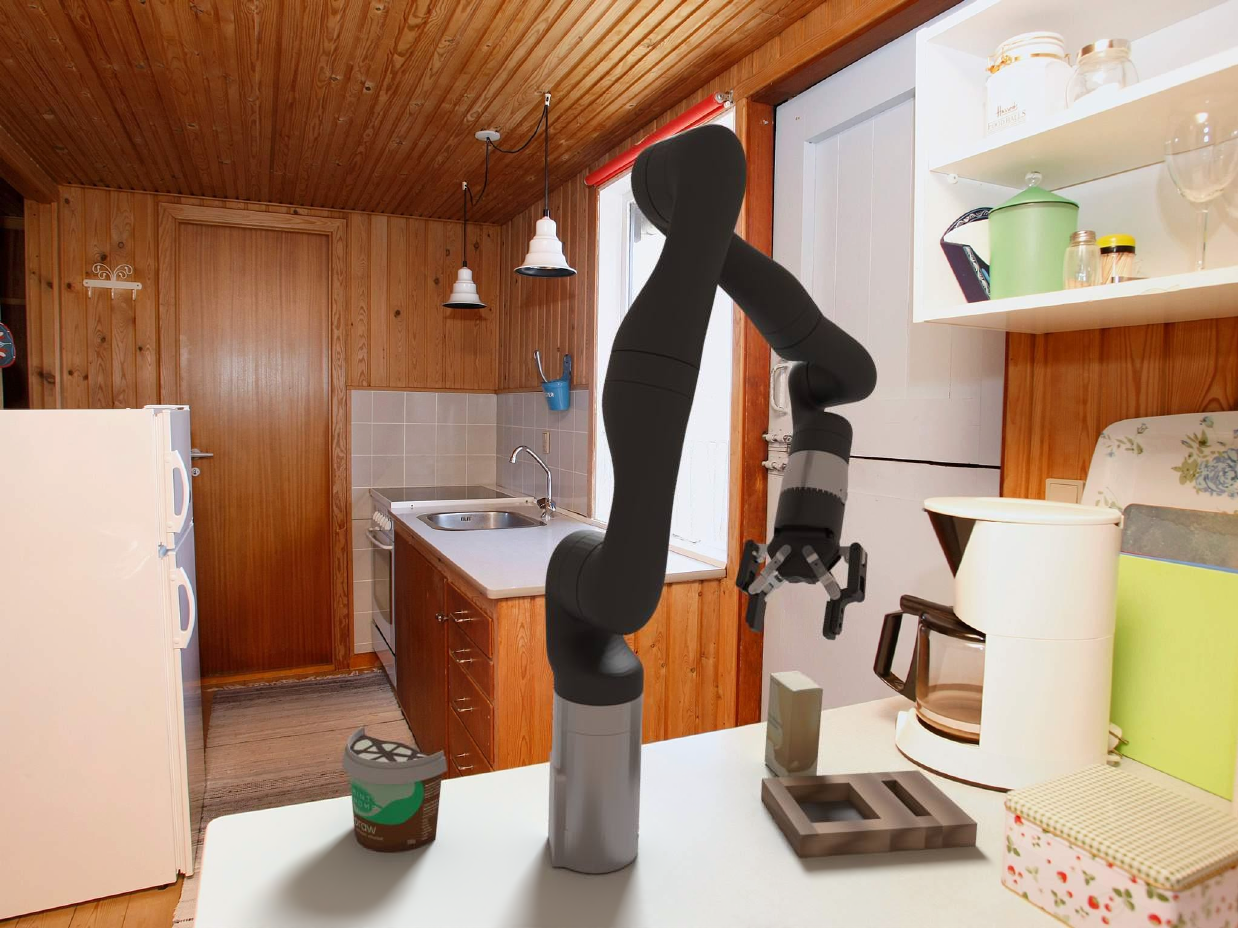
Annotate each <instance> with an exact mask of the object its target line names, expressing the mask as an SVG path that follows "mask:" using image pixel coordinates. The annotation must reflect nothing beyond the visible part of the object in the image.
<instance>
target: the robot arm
mask: <svg viewBox="0 0 1238 928" xmlns="http://www.w3.org/2000/svg"><path fill="white" fill-rule="evenodd" d="M747 182H748V165H747V157H746V153H745V150H744V147H743V144H742V142H741V140H740V139H739V137H738V135H737V134H736V133H735V131H733V130H732V129H731V128H730V127H727V126H725V125H722V124H718V123H709V124H707V123H706V124H701V125H698V126H693V127H691V128H689V129H686V130H683V131H680V132H678V133H675V134H673V135H671V136H667V137H665V138H663V139H660V140H658V141H655V142H654V143H652V144H649V146H646V147H645V148H644V149H642V150H641V152H639V154H638V155H637V156H636V158H635V160H634V162H633V165H632V168H631V174H630V187H631V192H632V196H633V199H634V201H635V204H636V206H637V207H638V209H639V210H640V212H641V213H642V215H643V216H644V217H645V218H646V219H647V220H648V221H649V222H650V224H651V225H653V226H654V227H655V228H656V229H657V230H658V231H659V232H660V233H661V234H662V235H663V236H664V237H665V239H664V243H663V246H662V249H661V252H660V255H659V257H658V259H657V262H656V264H655V266H654V268H653V270H652V271H651V274H650V275H649V277H648V279H646V282H645V283H644V285H643V287H642V288H641V289H640V290H639V293H638V294H637V295H636V298H635V299H634V300H633V302H632V304H631V305H630V307H629V309H628V310H627V312H626V314H625V315H624V317H623V319H622V321H621V323H620V325H619V327H618V328H617V332H616V333H615V337H614V340H613V342H612V345H611V349H610V355H609V358H608V364H607V368H606V373H605V378H604V383H603V388H602V395H601V411H602V412H601V413H602V420H603V426H604V431H605V437H606V441H607V445H608V449H609V454H610V457H611V464H612V471H613V492H612V493H613V494H612V501H611V506H610V512H609V517H608V521H607V522H608V523H607V527H606V530H605V532H603V531H598V530H593V529H580V530H577V531H574V532H571V533H569V534H567V535H566V536H564V537H563V538H562V539H561V540H560V541H559V542H558V544H556V547H555V548H554V549H553V552H552V554H551V556H550V558H549V560H548V565H547V569H546V572H545V573H546V574H545V581H544V582H545V585H544V586H545V587H544V609H545V610H544V617H545V618H544V619H545V646H546V655H547V656H546V657H547V660H548V663H549V664H548V665H549V666H550V669H551V672H552V677H553V696H552V697H553V698H552V699H553V700H552V701H553V702H552V703H553V704H552V706H553V707H552V739H551V741H552V742H551V744H552V746H551V748H552V749H551V750H550V752H549V773H548V774H549V780H548V781H549V783H548V788H549V789H548V820H547V823H548V825H547V826H548V829H547V831H548V832H547V836H548V837H547V838H548V845H549V852H550V859H551V866H552V867H553V868H567V869H569V870H572V871H575V872H578V873H585V874H586V873H587V874H605V873H610V872H615V871H617V870H620V869H623V868H624V867H626V866H628V865H629V864H631V863H632V862H633V861H634V860H635V858H636V857H637V855H638V851H639V837H640V809H641V808H640V803H641V778H642V777H641V775H642V774H641V773H642V772H641V771H642V770H641V767H642V740H643V739H642V737H643V712H644V711H643V708H644V707H643V705H644V684H645V683H644V681H645V672H644V666H643V663H642V661H641V660H640V659H641V658H639V657H638V655H636V653H635V652H634V650H633V649H632V647H630V645H629V644H628V642H627V641H626V639H625V637H624V636H629V635H631V634H632V635H633V634H634V633H638V631H640V630H642V628H644V627H645V626H646V625H647V624H648V623H649V621H650V620H651V619H652V617H653V615H654V614H655V612H656V610H657V608H658V605H659V604H660V600H661V598H662V595H663V591H664V586H665V580H666V575H667V566H668V557H669V546H670V537H671V528H672V519H673V509H674V502H675V501H674V500H675V495H676V489H677V488H676V487H677V483H678V476H679V472H680V466H681V461H682V455H683V449H684V444H685V443H684V442H685V439H686V433H687V428H688V424H689V420H690V416H691V412H692V408H693V404H694V400H695V393H696V389H697V385H698V379H699V375H700V370H701V364H702V359H703V358H702V357H703V351H704V345H705V342H706V339H707V332H708V329H709V325H710V321H711V320H710V319H711V315H712V312H713V307H714V303H715V299H716V295H717V294H716V293H717V289H718V287H719V288H720V289H722V290H723V291H724V292H725V293H726V294H727V295H728V297H730V299H732V301H733V302H734V303H735V304H736V305H737V306H738V307H739V308H740V309H741V311H742V312H743V314H744V315H746V317H747V318H748V319H749V321H750V322H751V323H752V325H753V326H754V328H755V329H756V330H757V331H758V332H759V333H760V335H761V336H762V337H763V339H764V340H765V341H766V342H767V344H768V346H770V348H771V349H772V350H773V351H774V353H775V354H776V355H778V357H779V358H781V359H783V360H785V361H789V362H794V364H793V365H792V367H791V368H790V371H789V372H788V373H789V374H788V377H787V389H788V395H789V401H790V410H791V411H790V412H791V420H792V436H791V441H790V447H789V452H788V457H787V458H788V459H787V463H786V465H785V468H784V471H783V474H782V479H781V485H780V490H779V496H778V502H777V508H776V513H775V519H774V525H773V537H772V539H771V540H770V542H769V543H768V544H766V543H757V542H756V541H754V540H753V539H747V540H746V541H745V543H744V547H743V551H742V555H741V560H740V562H739V566H738V567H739V568H738V571H737V574H736V579H735V583H734V584H735V587H736V588H738V589H739V590H740V591H741V592H743V593H744V594H745V595H746V596H748V602H747V606H746V614H745V617H744V618H745V623H746V624H747V625H748V628H749V630H751V631H752V632H754V633H762V631H763V627H764V622H765V621H764V620H765V614H766V609H767V603H768V602H767V601H766V599H768V597H769V596H770V595H771V594H772V593H773V592H774V591H775V590H778V589H779V588H781V587H782V586H783V585H784V584H785V583H786V582H788V583H789V584H800V583H805V584H808V585H814V586H815V585H816V584H817V583H819V582H820V583H821V584H822V586H823V587H824V589H825V591H826V593H827V595H828V596H829V600H826V602H825V603H826V604H825V611H824V618H823V623H822V633H821V634H822V636H823V637H824V638H825V639H826V640H828V641H835V640H836V638H837V636H840V635H841V633H842V631H843V625H844V623H843V622H844V616H845V609H846V607H847V606H849V604H852V603H858V604H860V603H863V602H864V601H865V599H866V589H867V588H866V587H867V573H868V572H867V570H868V552H867V551H866V549H864V547H863V546H862V545H861V544H860V543H859V542H857V541H855V542H852V543H851V544H850V545H848V546H843V545H842V546H841V545H840V542H841V538H842V531H843V524H844V517H845V510H846V503H847V501H848V496H849V494H848V493H849V492H848V490H849V489H848V488H849V467H850V466H849V465H850V457H851V450H852V444H853V437H854V434H853V433H854V432H853V427H852V425H851V423H850V421H849V420H848V419H847V418H846V417H844V416H843V415H840V414H838V413H835V412H831V411H825V410H826V409H827V408H833V407H838V406H842V405H848V404H853V403H859V402H861V401H864V400H866V399H867V398H869V397H870V396H871V394H872V393H873V392H874V390H875V388H876V386H877V381H878V372H877V367H876V364H875V361H874V359H873V357H872V355H871V354H870V353H869V351H868V350H867V349H866V348H865V347H864V346H863V345H862V344H861V342H860V341H858V340H857V339H856V338H855V337H853V336H851V334H849V333H848V332H846V331H845V330H843V328H841V327H839V326H838V325H837V324H836V323H835V322H833V321H832V320H830V319H829V318H828V317H826V316H825V315H824V314H823V312H822V311H821V310H820V308H819V306H818V304H817V303H816V302H815V300H814V299H813V298H812V297H811V295H810V294H809V292H808V291H807V290H806V289H805V287H804V285H803V284H802V283H801V281H799V280H798V279H797V277H796V276H795V275H794V274H793V273H792V272H791V271H789V270H788V269H787V268H786V267H784V266H783V265H781V264H780V263H779V262H777V261H776V260H774V259H773V258H771V257H770V256H769V255H767V254H766V253H764V252H763V251H761V250H759V249H758V248H756V247H754V246H753V244H752V245H751V243H749V242H748V241H747V240H745V239H744V238H743V237H742V236H740V235H739V234H737V232H735V229H736V226H737V223H738V220H739V216H740V213H741V211H742V206H743V202H744V198H745V197H746V196H745V195H746V190H747V184H748V183H747ZM767 556H768V557H769V559H770V561H769V562H768V563H767V564H766V565H765V566H764V567H763V568H762V569H761V570H760V572H759V568H760V565H761V563H763V562H765V559H766V557H767ZM842 558H843V561H844V562H845V564H846V565H847V567H848V568H847V577H846V578H847V579H846V580H847V581H846V583H847V584H846V587H844V588H841V586H840V583H839V582H838V581H837V579H836V577H835V575H834V574H833V572H832V570H833V568H835V566H836V565H837V564H838V563H839V562H840V561H841V559H842ZM758 574H759V576H758ZM757 576H758V577H757Z"/></svg>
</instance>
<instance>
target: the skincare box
mask: <svg viewBox="0 0 1238 928" xmlns="http://www.w3.org/2000/svg"><path fill="white" fill-rule="evenodd" d="M823 692H824V688H823V687H822V686H820V685H819V684H818V683H816V682H815V681H814V680H813V679H811V678H810V677H808V676H807V675H805V674H804V673H802V672H801V671H800V670H793V671H792V670H791V671H780V672H778V671H777V672H771V673H770V674H769V690H768V705H767V718H766V719H767V721H766V735H765V748H764V749H765V750H764V763H765V764H766V765H767V766H768V767H769V768H770V769H771V770H772V771H773V772H774V773H775V774H776V775H777V776H778V778H780V777H799V776H818V775H817V773H818V760H819V748H820V747H819V745H820V732H821V722H822V721H821V719H822V706H823V695H824V693H823Z"/></svg>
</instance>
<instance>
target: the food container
mask: <svg viewBox="0 0 1238 928" xmlns="http://www.w3.org/2000/svg"><path fill="white" fill-rule="evenodd" d="M344 748H345V749H344V751H343V755H342V756H343V757H342V761H341V764H342V765H341V767H342V768H343V770H344V772H345V773H346V774H347V775H349V781H350V782H349V784H350V793H351V794H350V795H351V804H352V814H353V815H352V816H353V826H354V835H355V838H356V841H357V843H358V844H359V845H361V846H362V847H363V848H365V849H366V850H370V851H372V852H376V853H388V854H389V853H390V854H392V853H395V854H396V853H402V852H403V853H405V852H408V851H412V850H416V849H419V848H422V847H424V846H427V845H428V844H430V843H432V842H433V841H435V840H436V839H437V838H436V837H437V829H438V828H437V827H438V820H439V810H440V809H439V808H440V800H441V789H442V788H441V787H442V778H443V777H442V775H443V773H445V772H447V771H448V766H447V758H446V756H445V755H444V754H445V752H444V750H443V749H442V750H441V751H438V752H436V753H434V754H428V753H425V752H423V751H419V750H418V749H415V748H412V747H411V746H409V745H407V744H405V743H403V742H398V741H392V740H391V741H390V740H382V739H379V738H376V737H373V736H369V735H366V729H365V726H361V727H359V728H358V729H357V730H356V731H354V732H352V734H351V735H350V736H349V738H348V740H347V743H346V745H345V747H344Z"/></svg>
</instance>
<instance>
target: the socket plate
mask: <svg viewBox="0 0 1238 928" xmlns="http://www.w3.org/2000/svg"><path fill="white" fill-rule="evenodd" d="M760 790H761V791H760V792H761V793H760V799H761V800H762V802H763V805H764V806H765V807H766V808H767V810H768V811H769V813H770V815H771V816H772V817H773V819H774V821H775V822H776V824H777V825H778V827H779V828H780V830H781V831H782V834H784V836H785V838H786V840H787V841H788V842H789V844H790V845H791V847H792V848H793V849H794V851H795V853H796V854H797V856H798V857H799V858H801V859H802V858H811V857H816V858H817V857H826V856H827V857H828V856H829V857H830V856H841V855H843V856H844V855H858V854H873V853H884V852H886V853H887V852H901V851H903V852H904V851H915V850H916V851H917V850H929V849H930V850H931V849H943V848H944V849H946V848H956V847H957V848H958V847H971V846H974V847H975V846H977V835H978V834H977V832H978V831H977V830H978V823H977V822H976V821H975V820H974V819H973V817H971V816H970V815H969V814H968V813H966V812H965V811H964V810H963V809H962V807H960V806H959V805H958V804H957V803H955V802H954V801H953V800H952V799H951V798H950V797H949V796H948V795H947V794H946V793H944V792H943V791H942V790H941V789H940V788H939V787H938V786H936V785H935V784H934V783H933V782H932V781H931V780H930V779H929V778H928V777H926V776H925V775H924V773H922V772H921V771H920V770H917V769H916V770H901V771H900V770H899V771H897V770H896V771H882V772H881V771H880V772H862V773H844V774H843V773H842V774H841V773H840V774H825V775H823V774H821V775H819V774H818V775H817V776H799V777H763V778H761V789H760Z"/></svg>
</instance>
